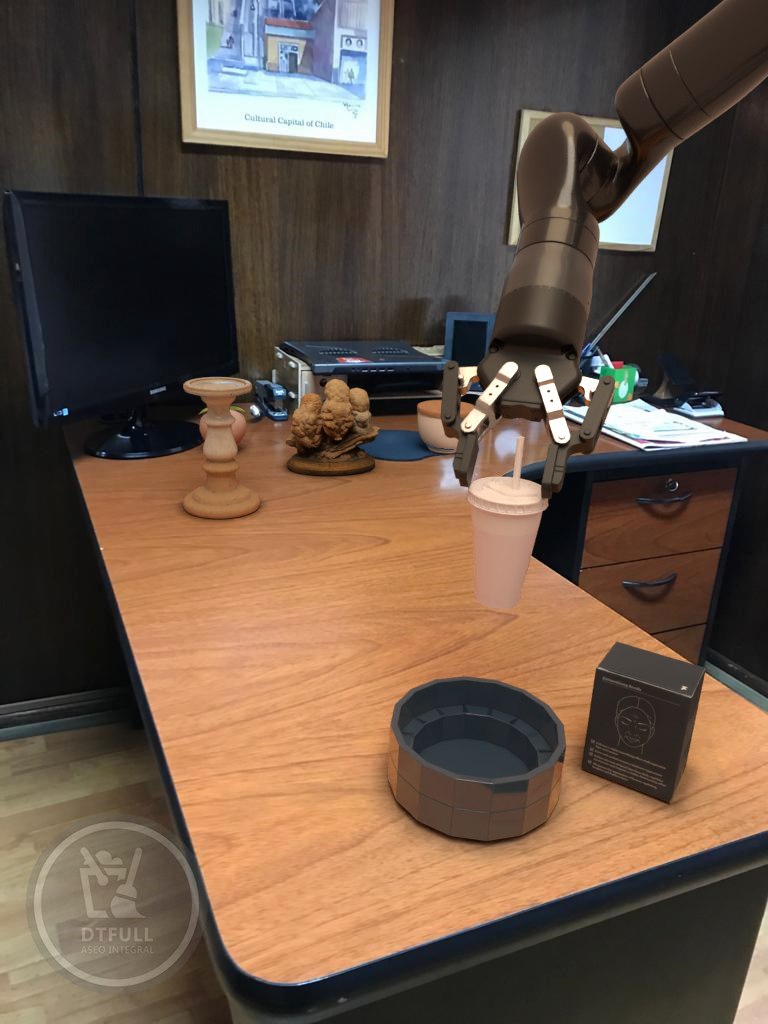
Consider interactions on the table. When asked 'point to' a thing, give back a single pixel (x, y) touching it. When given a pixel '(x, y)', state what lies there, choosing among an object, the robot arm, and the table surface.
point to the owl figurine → (332, 432)
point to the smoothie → (503, 533)
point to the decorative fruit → (237, 427)
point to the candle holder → (220, 453)
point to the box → (642, 719)
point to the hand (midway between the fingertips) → (504, 487)
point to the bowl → (475, 757)
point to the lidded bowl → (437, 425)
